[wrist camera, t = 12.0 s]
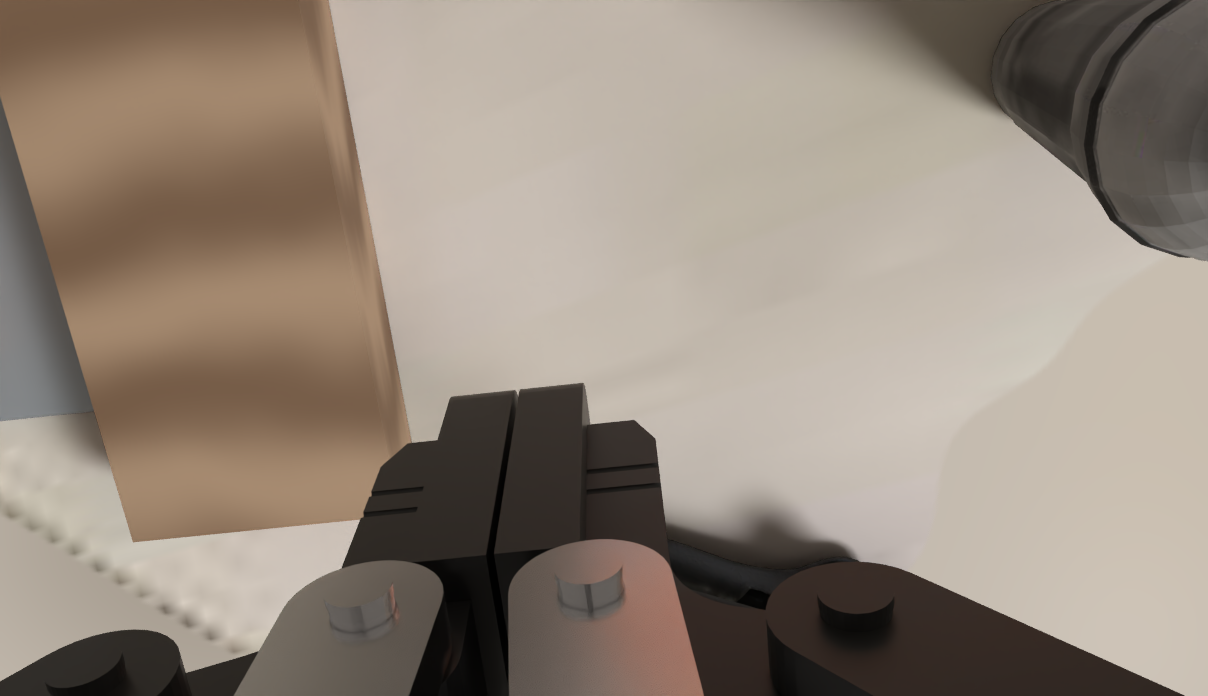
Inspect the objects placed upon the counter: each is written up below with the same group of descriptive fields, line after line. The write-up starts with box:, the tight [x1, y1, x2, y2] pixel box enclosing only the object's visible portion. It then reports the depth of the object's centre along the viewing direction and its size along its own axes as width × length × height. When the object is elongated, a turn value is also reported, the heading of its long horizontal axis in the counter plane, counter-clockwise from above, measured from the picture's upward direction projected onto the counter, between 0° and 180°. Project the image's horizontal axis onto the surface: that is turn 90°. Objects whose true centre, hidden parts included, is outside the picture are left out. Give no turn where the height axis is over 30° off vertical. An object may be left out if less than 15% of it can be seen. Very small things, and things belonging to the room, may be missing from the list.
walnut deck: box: [0, 0, 412, 542], centre depth 39 cm, size 24×10×4 cm, turn 6°
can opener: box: [667, 539, 860, 610], centre depth 45 cm, size 18×7×6 cm, turn 70°
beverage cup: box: [991, 0, 1208, 261], centre depth 30 cm, size 7×7×20 cm
